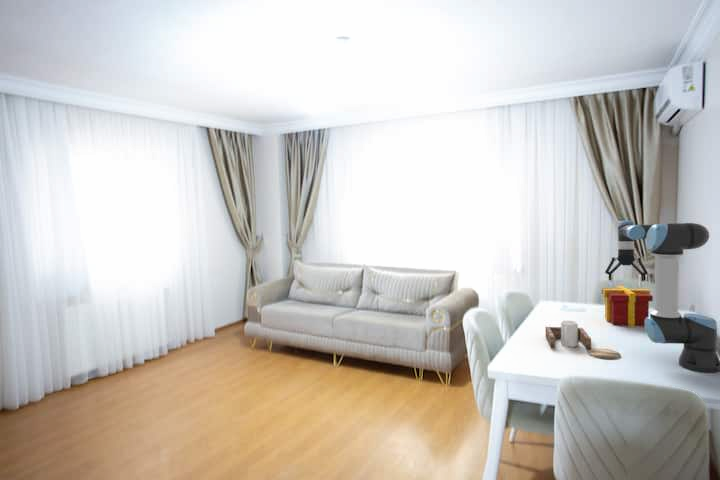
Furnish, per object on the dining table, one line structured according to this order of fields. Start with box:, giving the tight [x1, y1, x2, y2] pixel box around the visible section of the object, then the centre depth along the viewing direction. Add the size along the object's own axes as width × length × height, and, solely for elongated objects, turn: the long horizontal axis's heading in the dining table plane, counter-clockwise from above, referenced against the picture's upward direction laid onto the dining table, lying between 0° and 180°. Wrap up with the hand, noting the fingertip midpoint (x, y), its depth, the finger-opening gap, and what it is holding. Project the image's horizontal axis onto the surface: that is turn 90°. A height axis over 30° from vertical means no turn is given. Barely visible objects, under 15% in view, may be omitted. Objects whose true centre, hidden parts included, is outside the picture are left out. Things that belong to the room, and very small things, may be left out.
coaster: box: [587, 347, 621, 360], centre depth 218 cm, size 14×14×1 cm
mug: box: [560, 320, 579, 348], centre depth 234 cm, size 12×8×12 cm
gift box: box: [601, 285, 654, 328], centre depth 274 cm, size 25×25×20 cm
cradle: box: [545, 326, 592, 351], centre depth 238 cm, size 20×19×6 cm
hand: (625, 286), depth 246 cm, fingers open, 13 cm apart
